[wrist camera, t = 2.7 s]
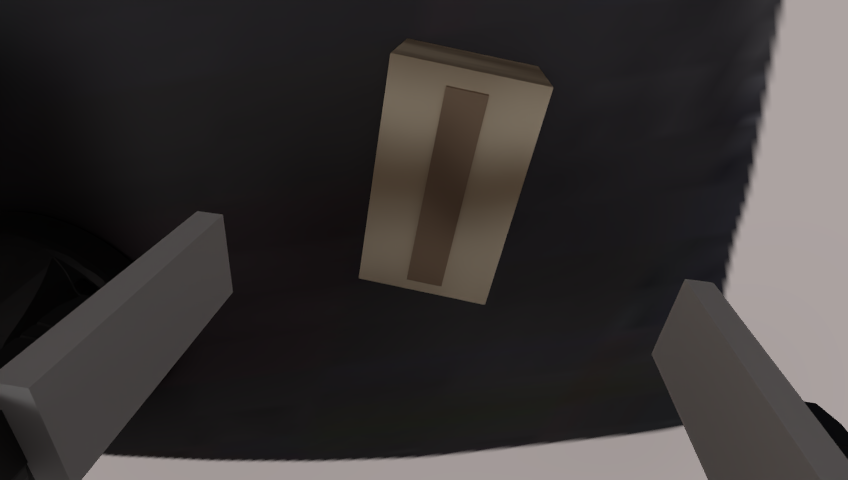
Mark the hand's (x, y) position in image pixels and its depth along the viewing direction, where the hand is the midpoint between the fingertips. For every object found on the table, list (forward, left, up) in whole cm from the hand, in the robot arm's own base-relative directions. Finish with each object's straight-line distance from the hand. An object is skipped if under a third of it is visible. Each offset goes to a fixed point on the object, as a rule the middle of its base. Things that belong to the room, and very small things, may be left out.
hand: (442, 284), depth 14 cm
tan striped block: (0, 0, -12) cm, 12 cm away
